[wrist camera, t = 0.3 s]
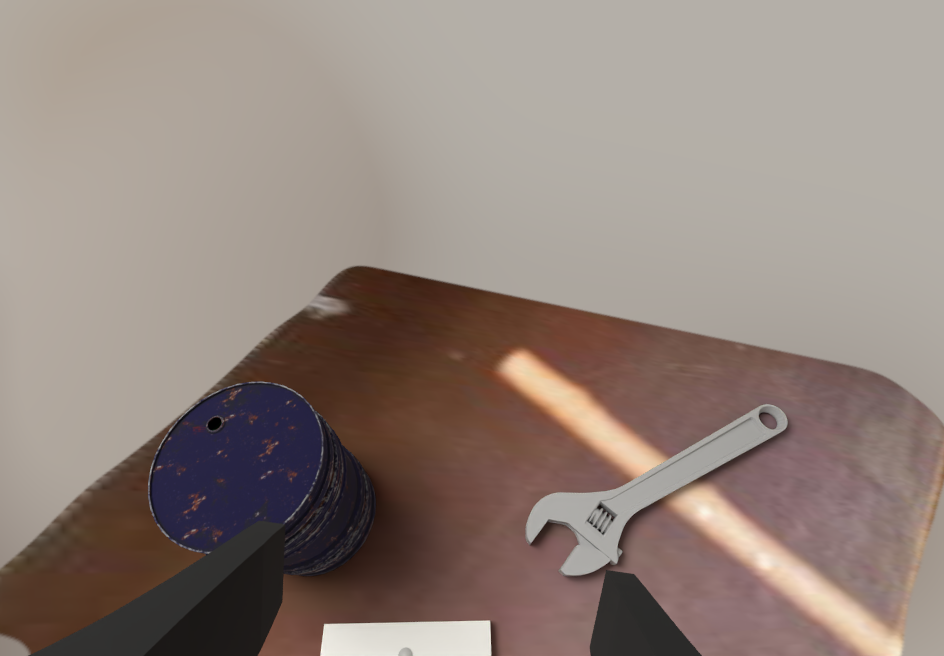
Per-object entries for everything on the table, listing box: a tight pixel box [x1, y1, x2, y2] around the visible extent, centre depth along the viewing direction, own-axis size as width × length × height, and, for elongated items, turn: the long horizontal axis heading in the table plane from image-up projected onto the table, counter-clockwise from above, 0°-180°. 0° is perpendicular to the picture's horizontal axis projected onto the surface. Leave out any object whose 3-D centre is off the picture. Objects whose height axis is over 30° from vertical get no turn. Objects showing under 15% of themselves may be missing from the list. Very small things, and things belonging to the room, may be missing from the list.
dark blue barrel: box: [148, 382, 376, 576], centre depth 33 cm, size 10×10×15 cm
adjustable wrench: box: [526, 404, 787, 576], centre depth 39 cm, size 25×6×2 cm, turn 112°
